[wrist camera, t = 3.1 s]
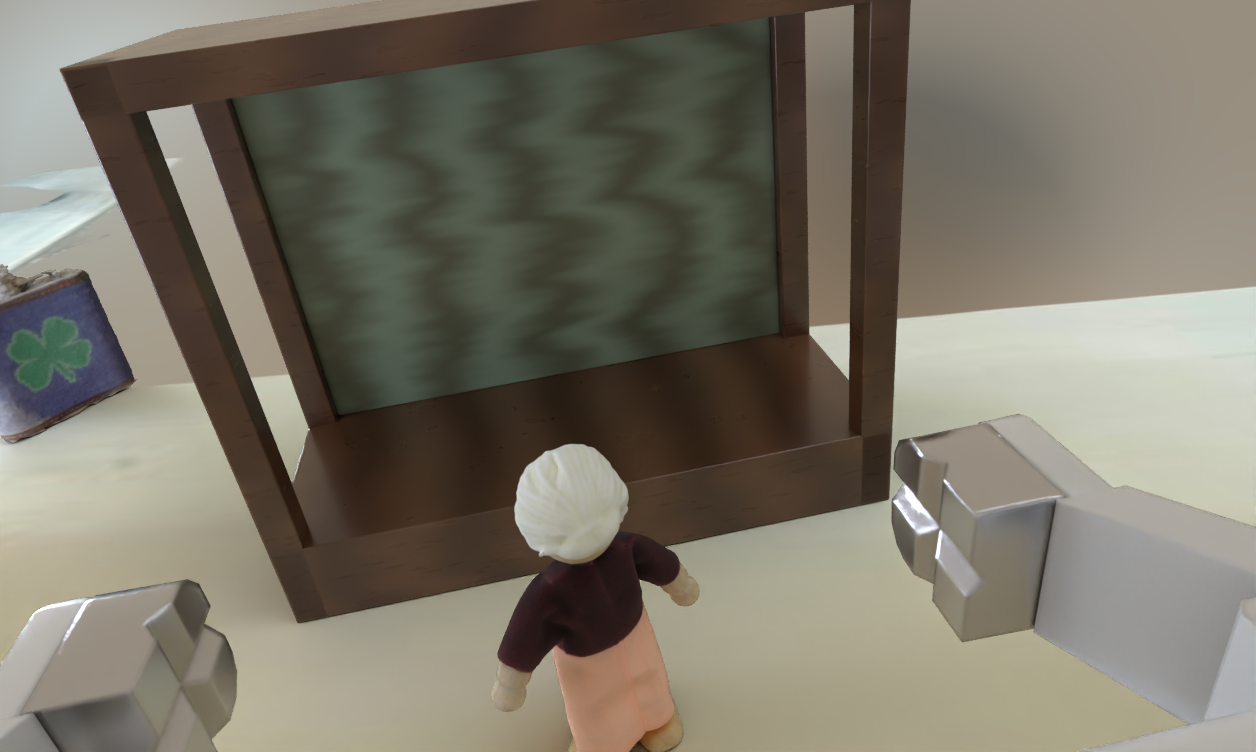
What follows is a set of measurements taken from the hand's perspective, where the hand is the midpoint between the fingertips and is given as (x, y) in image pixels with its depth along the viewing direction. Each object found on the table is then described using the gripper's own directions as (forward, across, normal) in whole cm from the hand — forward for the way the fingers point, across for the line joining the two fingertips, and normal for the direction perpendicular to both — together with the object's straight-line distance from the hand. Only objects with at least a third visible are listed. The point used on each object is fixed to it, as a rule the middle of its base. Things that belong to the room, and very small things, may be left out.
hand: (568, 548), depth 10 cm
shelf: (+28, -1, +20) cm, 34 cm away
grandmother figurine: (+12, 0, +20) cm, 23 cm away
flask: (+49, +33, +20) cm, 63 cm away
